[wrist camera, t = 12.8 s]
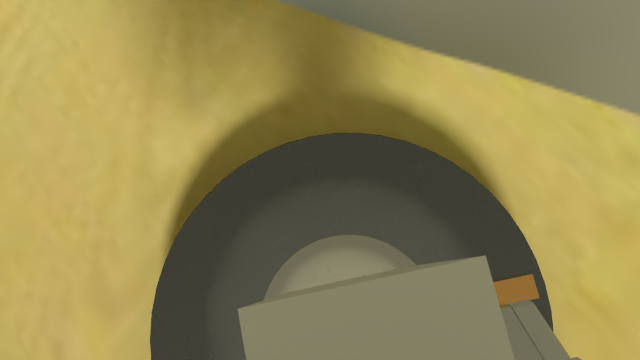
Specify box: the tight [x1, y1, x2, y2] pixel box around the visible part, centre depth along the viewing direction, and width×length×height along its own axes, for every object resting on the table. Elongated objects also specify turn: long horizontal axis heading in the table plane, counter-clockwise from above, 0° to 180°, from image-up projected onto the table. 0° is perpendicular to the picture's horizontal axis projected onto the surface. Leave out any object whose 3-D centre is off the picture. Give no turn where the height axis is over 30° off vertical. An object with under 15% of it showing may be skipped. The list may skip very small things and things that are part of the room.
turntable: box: [150, 133, 553, 360], centre depth 24 cm, size 20×20×2 cm
